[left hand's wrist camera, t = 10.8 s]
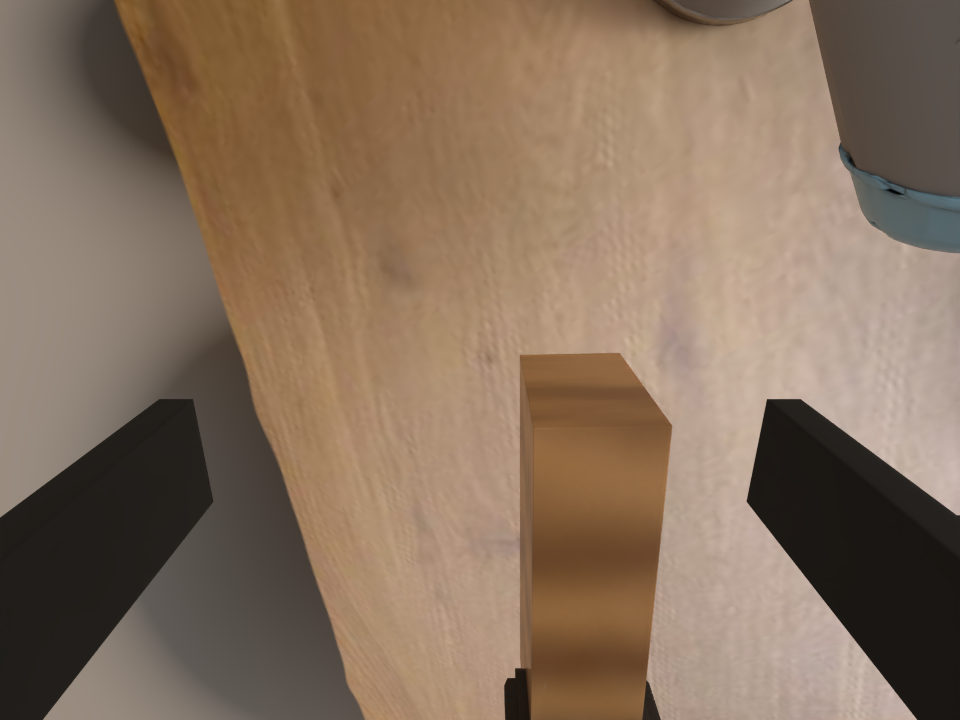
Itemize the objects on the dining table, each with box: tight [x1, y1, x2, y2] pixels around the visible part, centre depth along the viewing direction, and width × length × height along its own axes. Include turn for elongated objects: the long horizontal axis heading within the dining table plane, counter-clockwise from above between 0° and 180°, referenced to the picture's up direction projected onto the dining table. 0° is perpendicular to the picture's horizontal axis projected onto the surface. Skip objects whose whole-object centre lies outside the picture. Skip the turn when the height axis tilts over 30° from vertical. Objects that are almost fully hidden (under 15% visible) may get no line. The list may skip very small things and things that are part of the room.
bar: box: [520, 353, 672, 720], centre depth 31 cm, size 24×6×10 cm, turn 1°
